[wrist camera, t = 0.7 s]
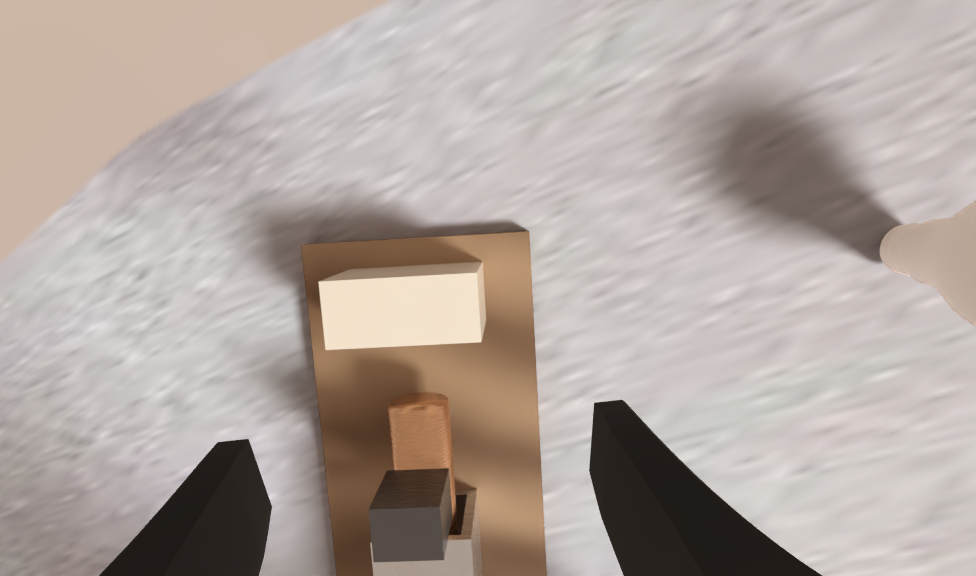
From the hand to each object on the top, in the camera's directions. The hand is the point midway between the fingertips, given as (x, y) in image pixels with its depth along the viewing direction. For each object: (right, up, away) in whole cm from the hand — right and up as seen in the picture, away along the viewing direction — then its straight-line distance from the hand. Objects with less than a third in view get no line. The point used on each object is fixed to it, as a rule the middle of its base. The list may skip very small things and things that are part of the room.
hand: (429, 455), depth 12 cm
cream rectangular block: (-2, +3, +19) cm, 19 cm away
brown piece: (-2, -9, +18) cm, 20 cm away
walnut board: (-2, -5, +20) cm, 21 cm away
